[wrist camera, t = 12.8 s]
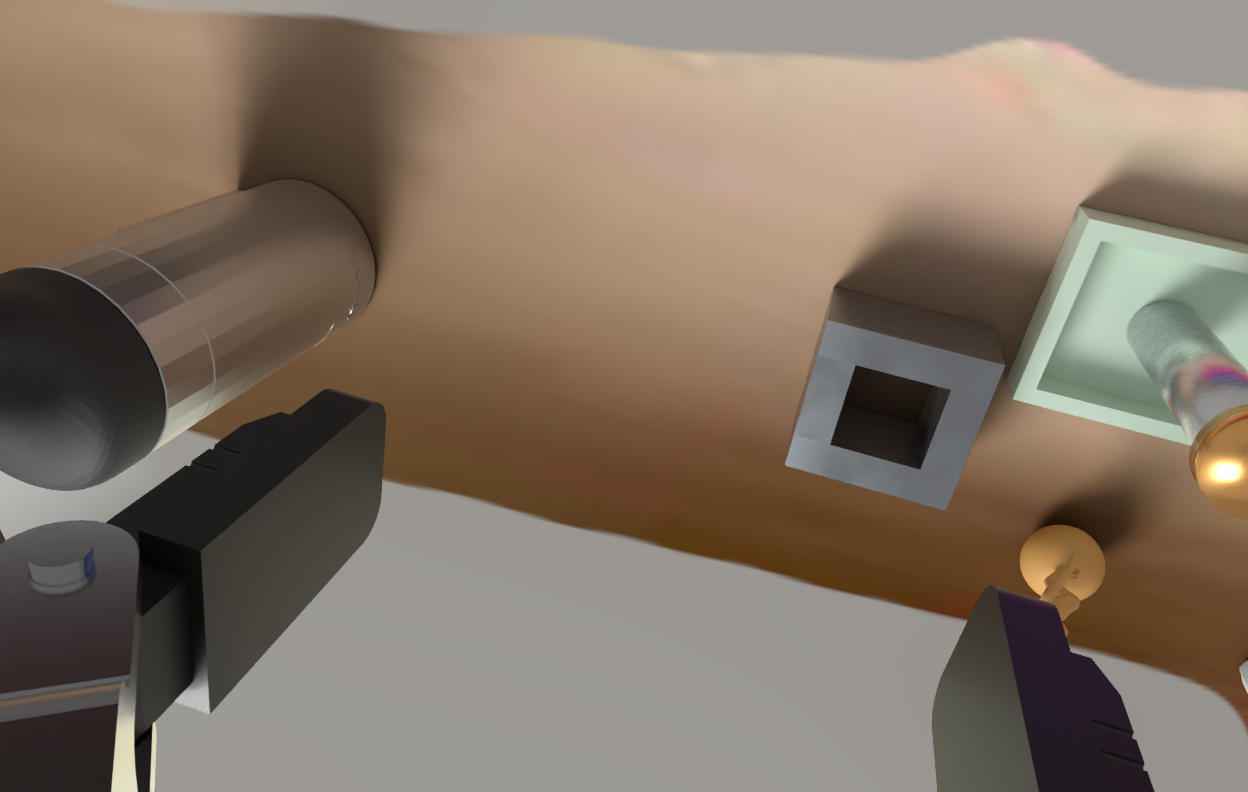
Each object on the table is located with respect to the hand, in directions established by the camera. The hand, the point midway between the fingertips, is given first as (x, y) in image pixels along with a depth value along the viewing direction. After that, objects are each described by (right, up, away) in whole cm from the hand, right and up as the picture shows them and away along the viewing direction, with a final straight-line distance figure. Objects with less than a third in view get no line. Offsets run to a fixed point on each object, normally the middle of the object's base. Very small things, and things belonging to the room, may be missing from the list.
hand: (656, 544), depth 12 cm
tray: (+25, +5, +30) cm, 39 cm away
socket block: (+13, +3, +35) cm, 37 cm away
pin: (+25, +5, +30) cm, 39 cm away
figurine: (+22, -6, +36) cm, 43 cm away
